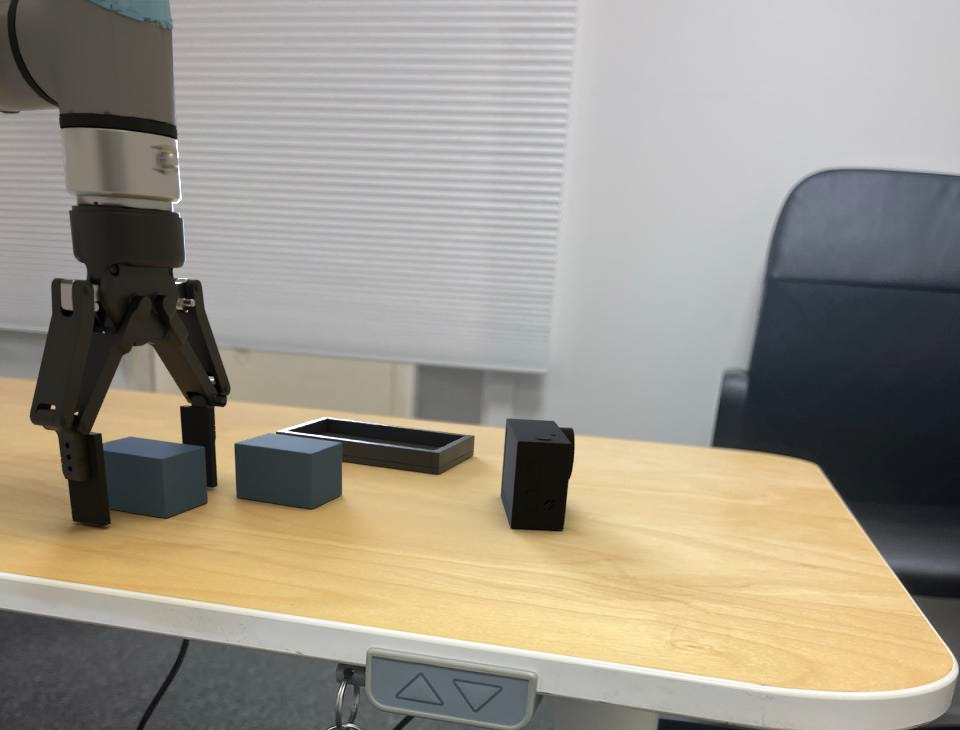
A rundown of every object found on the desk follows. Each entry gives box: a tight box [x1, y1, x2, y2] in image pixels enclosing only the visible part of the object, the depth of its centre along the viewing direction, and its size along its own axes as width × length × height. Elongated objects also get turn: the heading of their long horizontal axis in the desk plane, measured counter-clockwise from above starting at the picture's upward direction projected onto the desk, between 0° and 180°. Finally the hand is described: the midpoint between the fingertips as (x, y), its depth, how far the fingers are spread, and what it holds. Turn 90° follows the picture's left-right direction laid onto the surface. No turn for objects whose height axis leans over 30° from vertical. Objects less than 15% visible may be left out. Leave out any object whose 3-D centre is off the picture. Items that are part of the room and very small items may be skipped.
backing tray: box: [275, 416, 476, 475], centre depth 95 cm, size 18×11×2 cm, turn 72°
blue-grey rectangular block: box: [233, 432, 343, 510], centre depth 77 cm, size 7×6×4 cm
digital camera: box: [500, 417, 576, 531], centre depth 76 cm, size 10×5×7 cm, turn 3°
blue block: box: [103, 436, 209, 519], centre depth 72 cm, size 7×6×4 cm
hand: (151, 503), depth 72 cm, fingers open, 13 cm apart
